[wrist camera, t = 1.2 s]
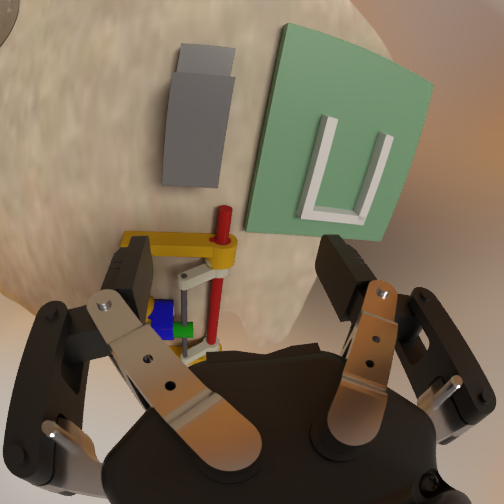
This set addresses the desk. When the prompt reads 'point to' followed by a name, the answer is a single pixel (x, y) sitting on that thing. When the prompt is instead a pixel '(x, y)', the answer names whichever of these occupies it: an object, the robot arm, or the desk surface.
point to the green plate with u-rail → (334, 139)
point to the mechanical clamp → (191, 282)
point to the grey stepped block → (198, 116)
